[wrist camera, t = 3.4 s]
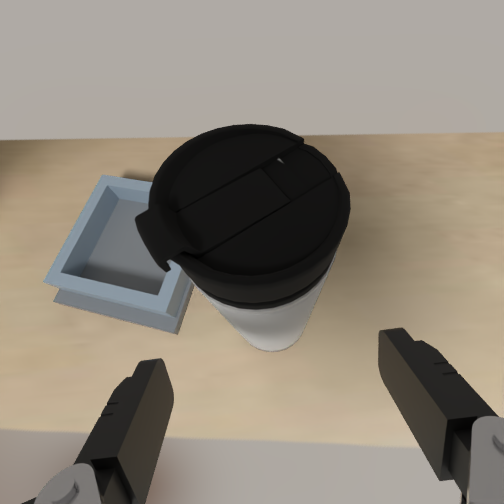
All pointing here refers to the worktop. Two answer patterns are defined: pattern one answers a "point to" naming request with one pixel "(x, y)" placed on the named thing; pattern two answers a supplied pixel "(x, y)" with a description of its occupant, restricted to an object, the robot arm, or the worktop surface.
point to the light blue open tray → (118, 262)
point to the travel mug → (249, 226)
